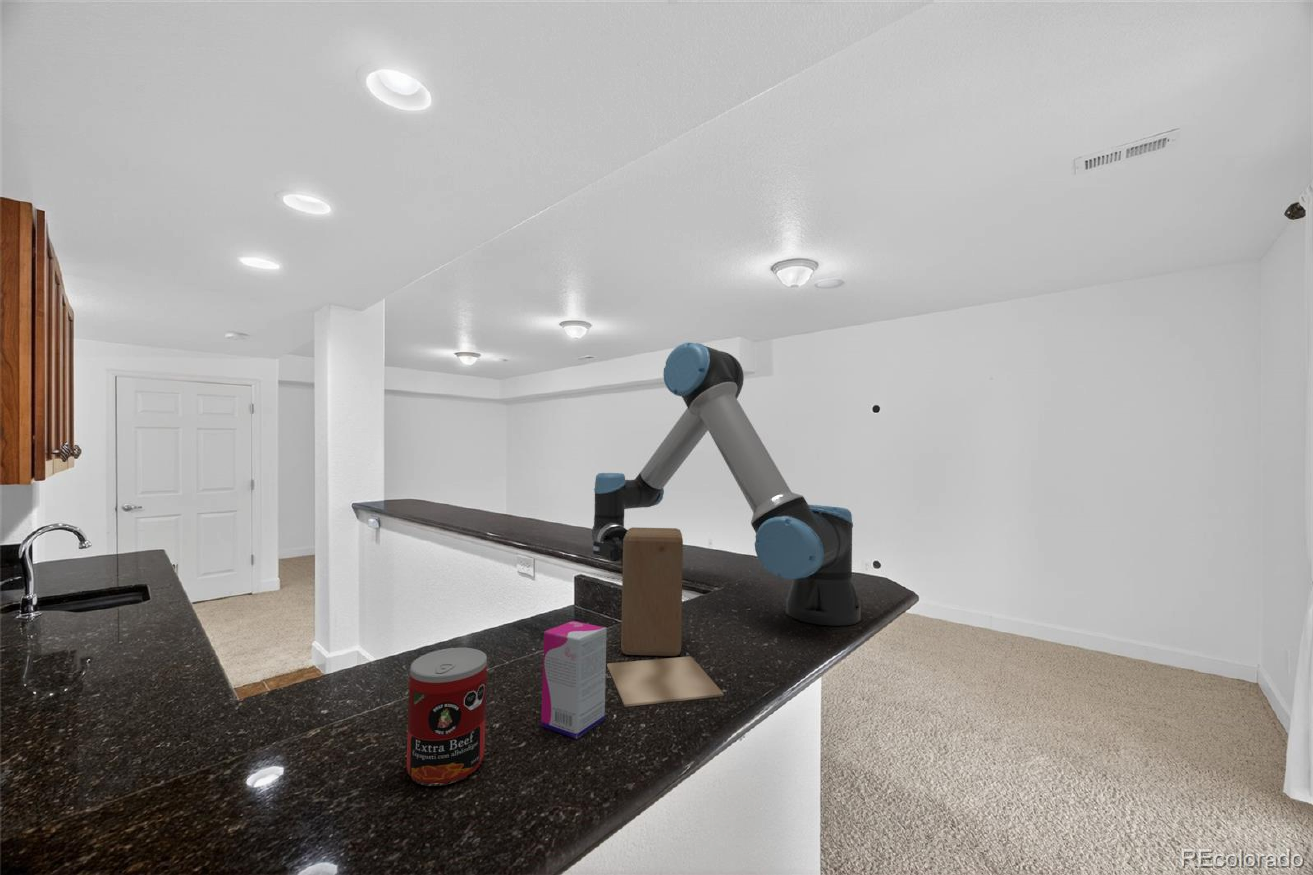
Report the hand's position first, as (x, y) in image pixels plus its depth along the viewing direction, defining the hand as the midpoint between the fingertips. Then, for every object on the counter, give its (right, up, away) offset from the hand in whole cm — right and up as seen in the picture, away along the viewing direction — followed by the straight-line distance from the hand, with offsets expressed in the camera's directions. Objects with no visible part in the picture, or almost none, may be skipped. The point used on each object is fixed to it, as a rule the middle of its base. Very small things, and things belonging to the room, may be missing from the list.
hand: (638, 561), depth 100 cm
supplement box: (-7, -12, -35) cm, 37 cm away
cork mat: (+4, -12, -22) cm, 26 cm away
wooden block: (+3, -13, -8) cm, 16 cm away
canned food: (-19, -11, -44) cm, 49 cm away
